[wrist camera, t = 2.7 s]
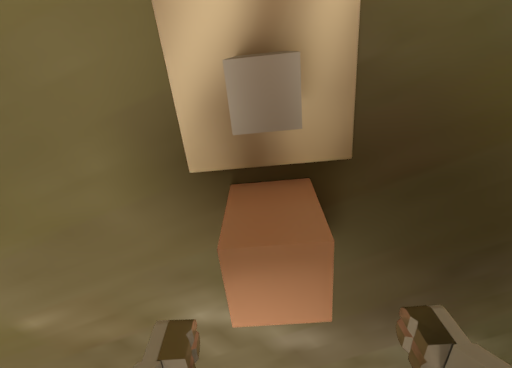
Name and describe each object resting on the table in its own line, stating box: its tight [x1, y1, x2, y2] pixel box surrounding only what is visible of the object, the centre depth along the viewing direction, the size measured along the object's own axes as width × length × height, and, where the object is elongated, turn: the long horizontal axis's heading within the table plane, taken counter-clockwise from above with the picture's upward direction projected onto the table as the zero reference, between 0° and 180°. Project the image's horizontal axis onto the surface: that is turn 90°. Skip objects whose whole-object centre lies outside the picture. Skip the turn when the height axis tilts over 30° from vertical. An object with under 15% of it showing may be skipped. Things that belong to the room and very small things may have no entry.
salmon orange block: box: [217, 178, 334, 327], centre depth 16 cm, size 5×5×7 cm
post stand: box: [152, 0, 360, 173], centre depth 13 cm, size 10×10×6 cm
